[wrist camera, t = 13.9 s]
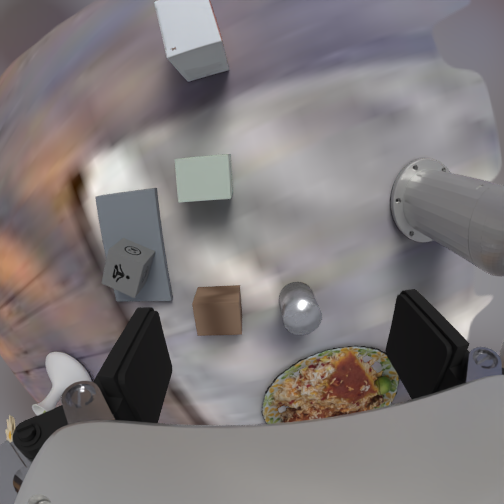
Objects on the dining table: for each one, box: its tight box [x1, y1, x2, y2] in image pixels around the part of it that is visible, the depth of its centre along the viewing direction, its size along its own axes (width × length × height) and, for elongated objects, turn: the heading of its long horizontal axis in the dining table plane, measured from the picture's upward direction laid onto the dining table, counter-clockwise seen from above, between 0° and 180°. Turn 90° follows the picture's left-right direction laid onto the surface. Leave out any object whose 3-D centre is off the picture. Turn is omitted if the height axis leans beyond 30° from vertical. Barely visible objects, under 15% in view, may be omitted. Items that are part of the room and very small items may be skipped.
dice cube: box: [102, 238, 155, 298], centre depth 36 cm, size 5×5×5 cm
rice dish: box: [262, 346, 399, 424], centre depth 48 cm, size 28×28×5 cm
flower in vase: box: [6, 352, 92, 443], centre depth 36 cm, size 13×11×25 cm
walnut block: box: [192, 285, 242, 336], centre depth 40 cm, size 6×5×5 cm
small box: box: [154, 0, 229, 82], centre depth 25 cm, size 8×6×10 cm
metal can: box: [279, 282, 322, 335], centre depth 39 cm, size 5×5×6 cm
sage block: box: [175, 154, 233, 203], centre depth 34 cm, size 6×5×5 cm
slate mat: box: [96, 188, 173, 301], centre depth 38 cm, size 9×16×1 cm, turn 3°
